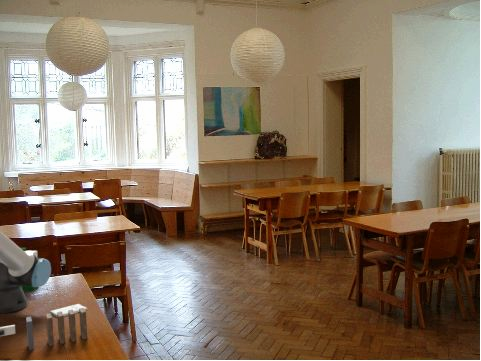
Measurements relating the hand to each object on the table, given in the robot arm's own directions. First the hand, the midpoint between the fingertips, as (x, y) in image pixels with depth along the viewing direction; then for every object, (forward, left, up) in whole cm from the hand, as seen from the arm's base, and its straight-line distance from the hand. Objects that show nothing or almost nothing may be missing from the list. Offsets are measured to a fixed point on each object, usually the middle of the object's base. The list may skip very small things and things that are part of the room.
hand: (14, 329), depth 181 cm
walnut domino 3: (0, +19, -7) cm, 20 cm away
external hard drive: (-32, +22, -8) cm, 39 cm away
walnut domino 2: (0, +15, -7) cm, 17 cm away
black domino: (0, +5, -7) cm, 9 cm away
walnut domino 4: (0, +23, -7) cm, 24 cm away
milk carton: (-76, +9, -8) cm, 77 cm away
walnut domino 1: (0, +11, -7) cm, 13 cm away
